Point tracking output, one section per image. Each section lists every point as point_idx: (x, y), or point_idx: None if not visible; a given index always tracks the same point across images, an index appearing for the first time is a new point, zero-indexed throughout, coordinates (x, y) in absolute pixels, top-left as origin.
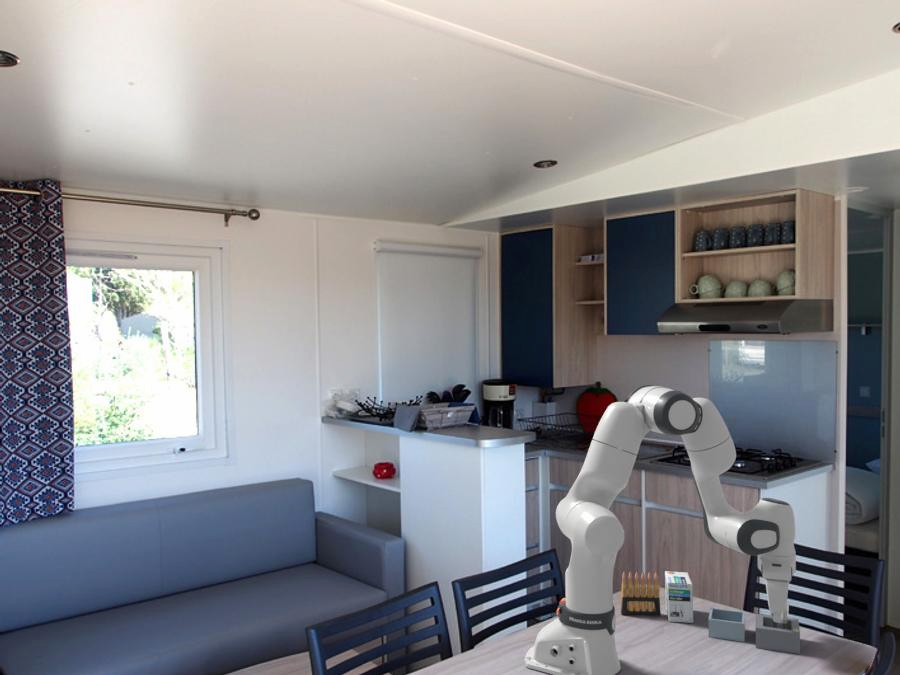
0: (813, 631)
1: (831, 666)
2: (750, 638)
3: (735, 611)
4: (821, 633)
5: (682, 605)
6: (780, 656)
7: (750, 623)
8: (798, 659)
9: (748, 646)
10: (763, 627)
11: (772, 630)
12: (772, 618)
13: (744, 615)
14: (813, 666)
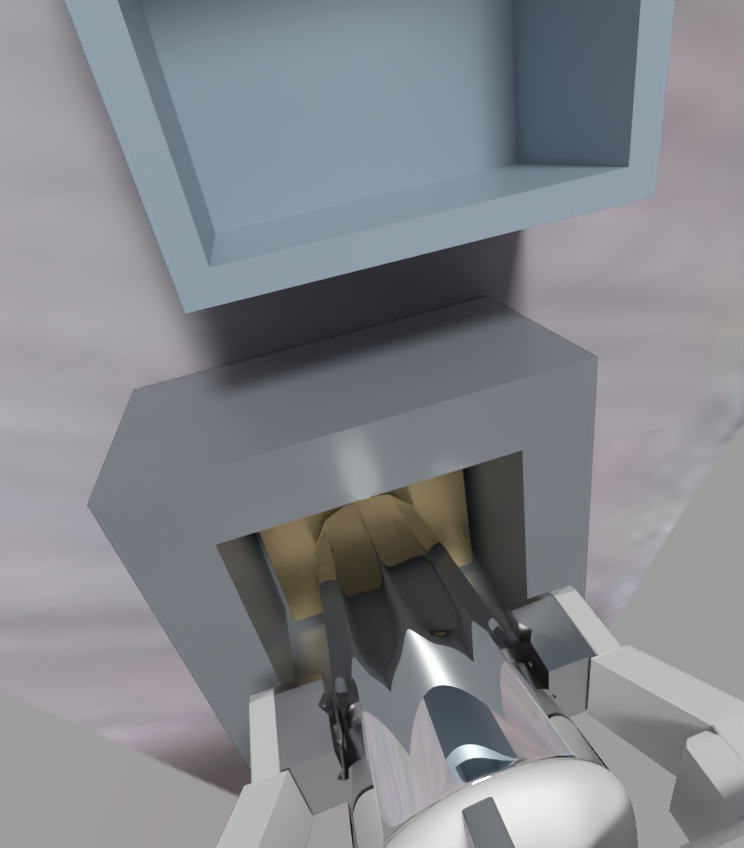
0: (642, 563)
1: (190, 764)
2: (331, 286)
3: (641, 42)
4: (625, 595)
5: None
6: (110, 572)
7: (685, 189)
8: (154, 652)
9: (116, 325)
10: (176, 562)
11: (172, 636)
12: (367, 634)
13: (524, 223)
14: (112, 727)
